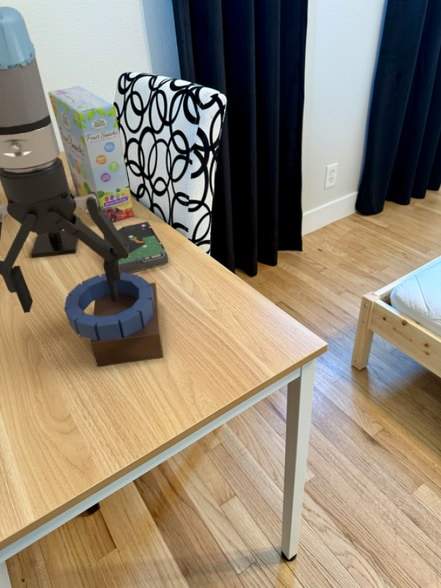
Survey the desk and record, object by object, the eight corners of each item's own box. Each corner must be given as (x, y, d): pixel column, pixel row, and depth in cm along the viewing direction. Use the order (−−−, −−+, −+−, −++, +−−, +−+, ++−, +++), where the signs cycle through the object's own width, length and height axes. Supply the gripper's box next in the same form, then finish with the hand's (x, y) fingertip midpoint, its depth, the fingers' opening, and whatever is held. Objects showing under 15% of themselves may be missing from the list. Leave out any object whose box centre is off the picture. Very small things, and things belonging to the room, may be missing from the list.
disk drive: (103, 242, 94) (119, 276, 83) (101, 231, 93) (116, 264, 82) (149, 231, 97) (170, 263, 86) (147, 220, 96) (168, 251, 85)
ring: (65, 346, 61) (59, 330, 60) (74, 292, 72) (70, 277, 70) (156, 334, 63) (153, 318, 61) (152, 282, 73) (150, 268, 71)
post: (31, 258, 90) (11, 200, 82) (39, 236, 97) (21, 182, 89) (75, 253, 91) (60, 196, 83) (79, 232, 98) (65, 178, 90)
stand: (97, 366, 65) (90, 342, 62) (101, 312, 75) (95, 289, 72) (163, 357, 66) (159, 333, 63) (159, 305, 76) (155, 282, 73)
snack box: (72, 194, 114) (45, 90, 98) (103, 186, 118) (82, 84, 102) (102, 226, 100) (76, 110, 84) (136, 216, 103) (118, 102, 87)
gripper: (-92, 183, 47) (-19, 328, 60) (130, 164, 50) (153, 306, 63) (-67, 159, 53) (-6, 296, 66) (130, 143, 56) (151, 277, 69)
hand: (72, 301), depth 65 cm, fingers open, 12 cm apart
